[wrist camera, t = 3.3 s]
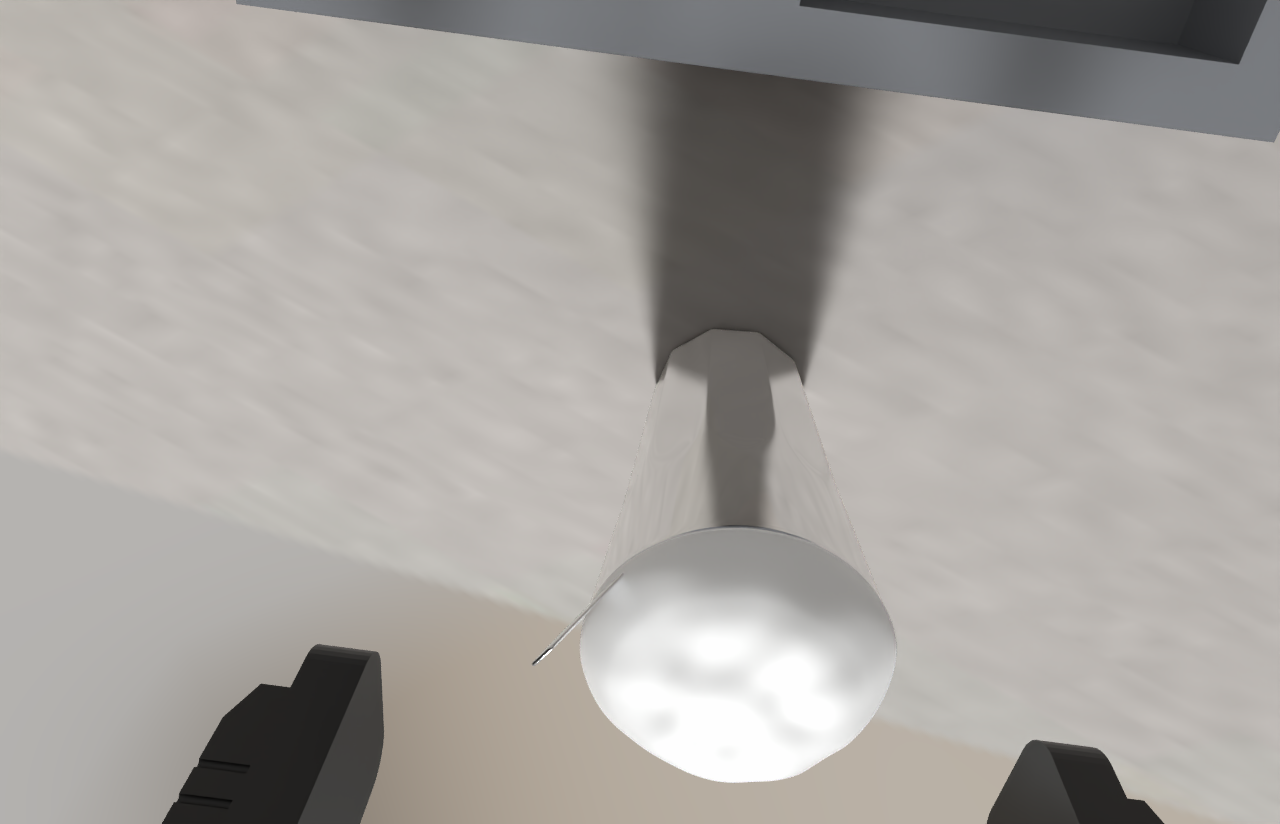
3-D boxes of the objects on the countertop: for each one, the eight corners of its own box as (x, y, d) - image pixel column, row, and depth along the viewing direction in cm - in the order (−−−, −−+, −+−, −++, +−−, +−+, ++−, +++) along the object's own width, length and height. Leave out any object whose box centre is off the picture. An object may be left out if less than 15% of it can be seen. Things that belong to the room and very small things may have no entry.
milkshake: (689, 231, 18) (665, 541, 9) (874, 383, 19) (1002, 773, 11) (558, 379, 20) (439, 748, 11) (735, 507, 21) (749, 921, 13)
